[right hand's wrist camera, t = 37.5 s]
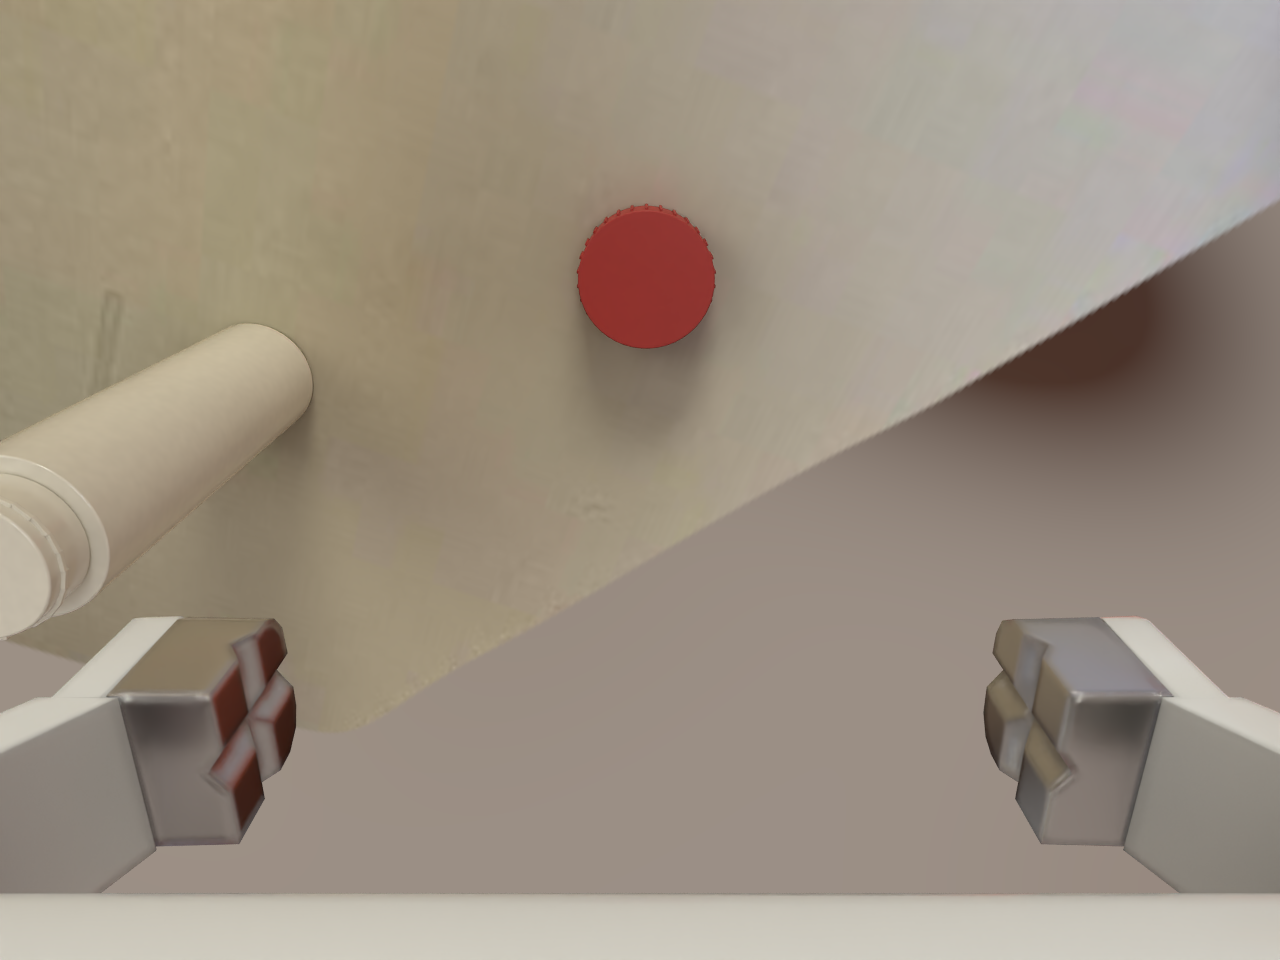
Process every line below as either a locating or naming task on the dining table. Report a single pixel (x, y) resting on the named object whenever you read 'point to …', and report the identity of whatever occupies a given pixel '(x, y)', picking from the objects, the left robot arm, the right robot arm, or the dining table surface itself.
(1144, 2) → the dining table surface
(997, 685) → the right robot arm
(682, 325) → the lid
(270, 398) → the white bottle
